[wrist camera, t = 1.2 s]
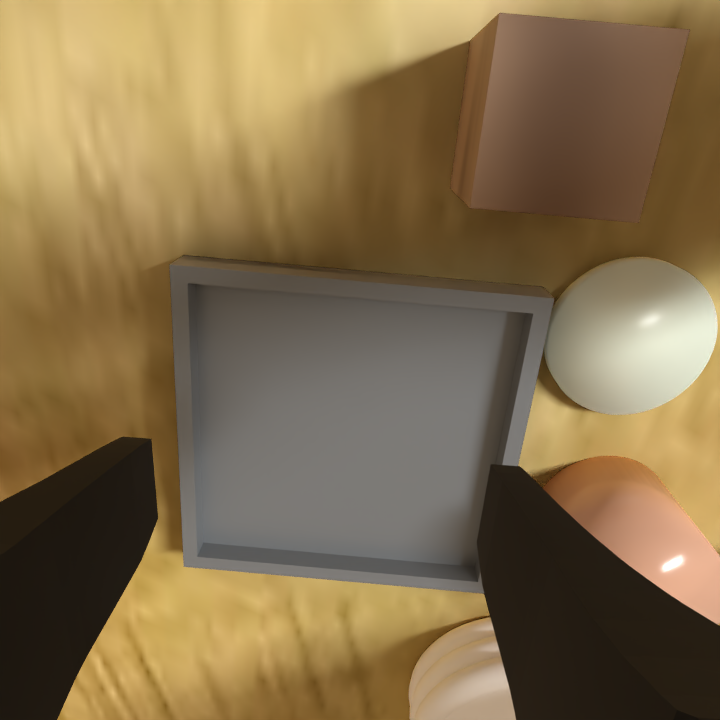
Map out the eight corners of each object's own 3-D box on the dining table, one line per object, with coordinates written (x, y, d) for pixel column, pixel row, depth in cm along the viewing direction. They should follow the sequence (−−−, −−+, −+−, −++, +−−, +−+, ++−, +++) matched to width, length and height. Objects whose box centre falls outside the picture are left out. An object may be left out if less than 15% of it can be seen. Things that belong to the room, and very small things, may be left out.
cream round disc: (420, 599, 27) (425, 663, 24) (630, 618, 27) (664, 685, 24) (398, 740, 31) (400, 812, 28) (582, 757, 31) (605, 831, 28)
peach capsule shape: (683, 461, 24) (756, 544, 19) (646, 567, 26) (704, 665, 21) (547, 449, 24) (588, 529, 19) (522, 557, 26) (553, 651, 21)
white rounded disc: (725, 263, 21) (741, 269, 20) (676, 410, 23) (687, 422, 22) (559, 247, 21) (568, 252, 20) (526, 395, 23) (532, 406, 22)
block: (611, 53, 18) (689, 29, 14) (579, 199, 20) (638, 222, 15) (469, 40, 18) (499, 12, 14) (449, 187, 20) (469, 208, 15)
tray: (543, 287, 21) (554, 298, 20) (484, 569, 26) (489, 594, 25) (183, 255, 21) (169, 264, 20) (194, 543, 26) (183, 566, 25)
